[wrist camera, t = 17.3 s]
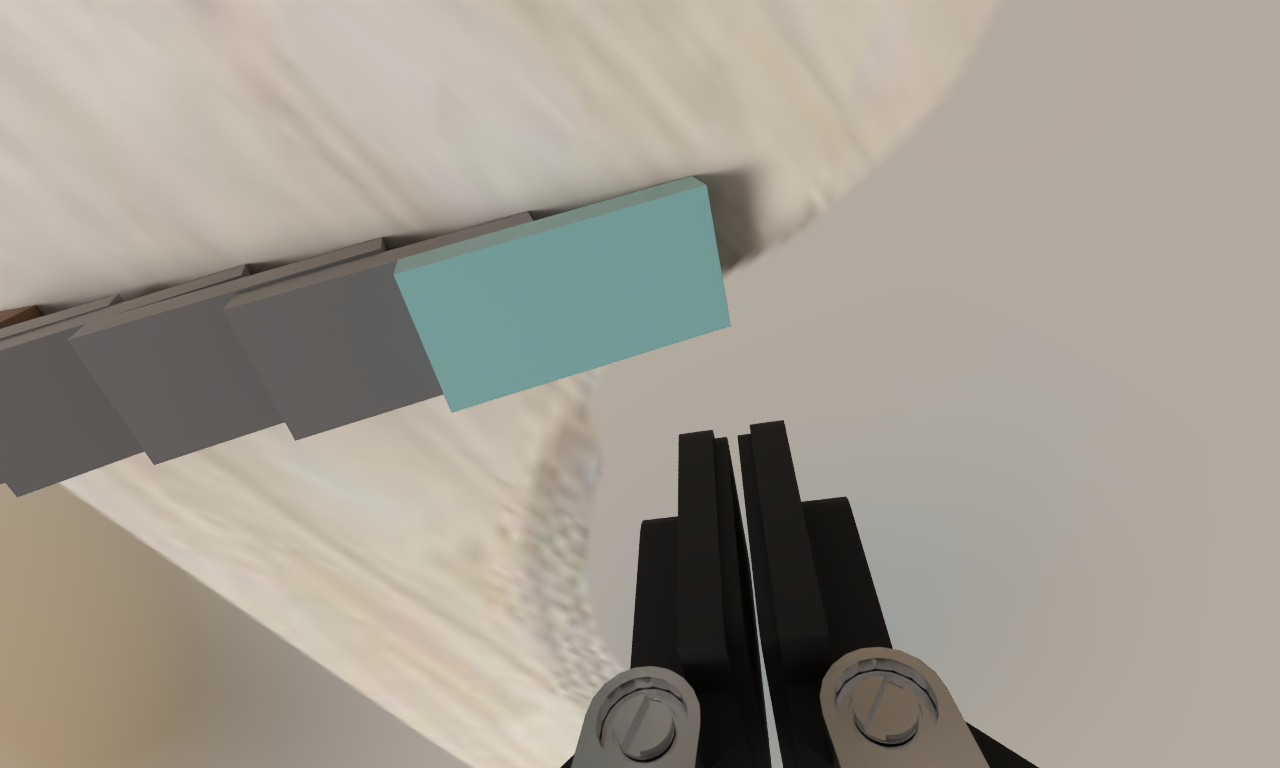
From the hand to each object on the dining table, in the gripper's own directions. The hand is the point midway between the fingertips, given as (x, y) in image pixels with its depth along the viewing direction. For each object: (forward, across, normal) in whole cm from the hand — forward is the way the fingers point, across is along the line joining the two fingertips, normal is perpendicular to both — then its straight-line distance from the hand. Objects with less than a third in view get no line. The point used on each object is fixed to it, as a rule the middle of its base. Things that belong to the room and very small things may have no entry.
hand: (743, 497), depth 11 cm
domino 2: (+14, +12, +1) cm, 18 cm away
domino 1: (+14, +17, +1) cm, 22 cm away
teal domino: (+14, 0, +1) cm, 14 cm away
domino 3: (+14, +6, +1) cm, 15 cm away
